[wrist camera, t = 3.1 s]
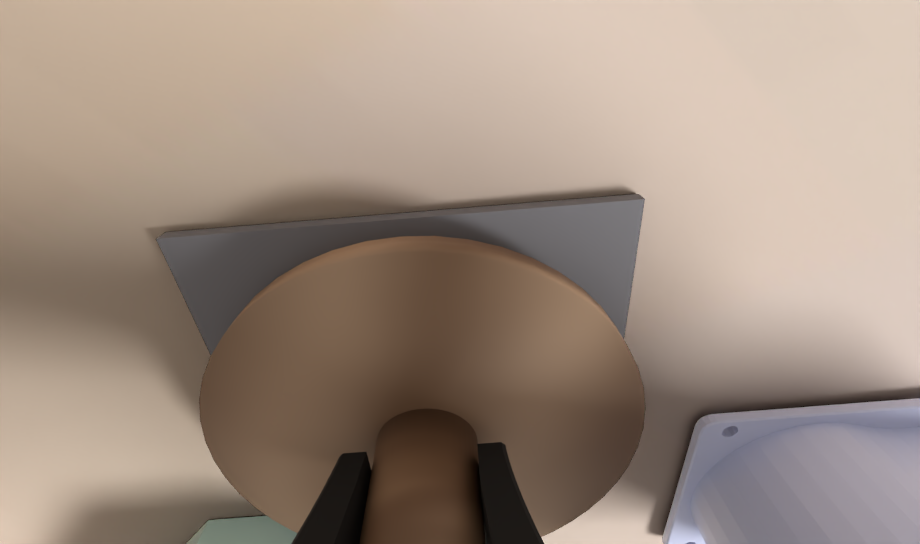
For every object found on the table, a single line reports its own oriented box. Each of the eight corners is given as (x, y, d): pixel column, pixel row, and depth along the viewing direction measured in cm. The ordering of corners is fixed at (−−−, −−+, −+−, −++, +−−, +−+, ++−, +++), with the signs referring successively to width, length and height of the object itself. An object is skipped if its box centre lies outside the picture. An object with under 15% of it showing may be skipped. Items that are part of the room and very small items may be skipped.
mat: (638, 194, 11) (644, 199, 10) (597, 487, 17) (600, 497, 16) (165, 232, 11) (155, 238, 10) (292, 510, 17) (288, 520, 16)
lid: (666, 215, 9) (876, 388, 5) (611, 523, 15) (681, 734, 11) (136, 257, 10) (-153, 465, 5) (283, 547, 15) (214, 766, 11)
